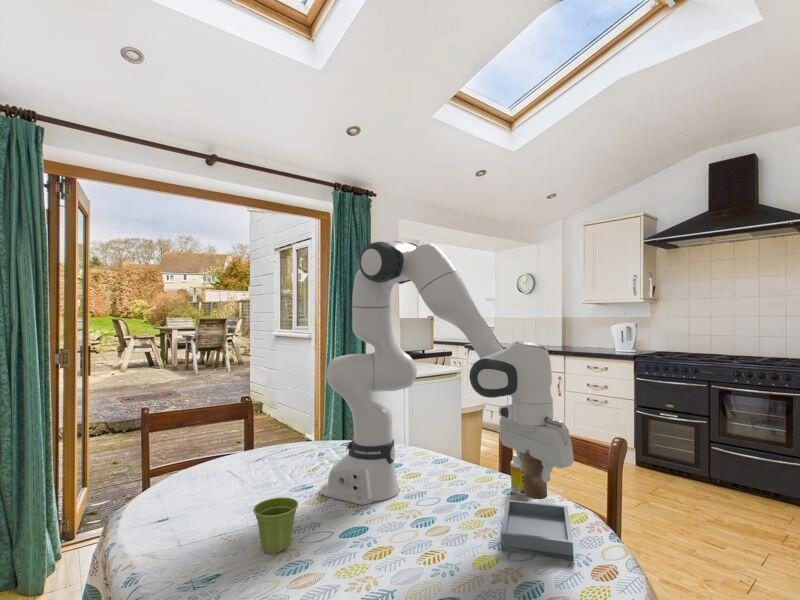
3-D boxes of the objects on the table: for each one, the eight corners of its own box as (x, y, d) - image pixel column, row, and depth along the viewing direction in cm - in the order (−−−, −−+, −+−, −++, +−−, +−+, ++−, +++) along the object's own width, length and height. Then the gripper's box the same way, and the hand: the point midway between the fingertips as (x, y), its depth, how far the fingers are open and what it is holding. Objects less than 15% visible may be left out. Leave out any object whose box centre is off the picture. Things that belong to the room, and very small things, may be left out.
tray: (501, 550, 89) (501, 533, 89) (507, 513, 105) (506, 499, 105) (573, 560, 85) (572, 542, 85) (567, 521, 101) (567, 506, 101)
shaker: (522, 496, 94) (520, 450, 95) (527, 489, 98) (525, 444, 99) (545, 500, 92) (543, 452, 92) (548, 492, 96) (547, 446, 97)
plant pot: (262, 535, 97) (262, 497, 98) (303, 535, 97) (302, 496, 97) (246, 558, 88) (246, 516, 88) (291, 558, 88) (291, 515, 88)
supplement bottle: (522, 498, 114) (521, 459, 115) (507, 491, 119) (505, 454, 119) (536, 492, 117) (535, 455, 118) (520, 486, 122) (519, 450, 122)
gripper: (579, 421, 88) (582, 489, 87) (514, 404, 106) (516, 460, 106) (555, 425, 85) (558, 495, 84) (494, 407, 104) (496, 464, 103)
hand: (534, 476), depth 95 cm, fingers closed on shaker, 5 cm apart
